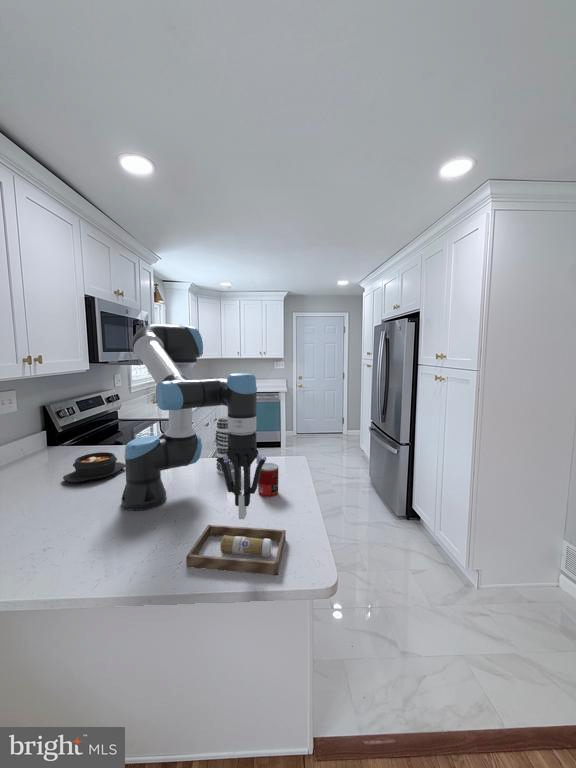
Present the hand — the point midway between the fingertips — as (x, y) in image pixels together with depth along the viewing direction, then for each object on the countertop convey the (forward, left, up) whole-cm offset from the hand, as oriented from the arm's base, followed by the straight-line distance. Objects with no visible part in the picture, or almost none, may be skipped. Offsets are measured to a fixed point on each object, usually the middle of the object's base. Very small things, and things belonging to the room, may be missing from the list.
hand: (242, 516), depth 90 cm
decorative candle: (-24, +61, -11) cm, 66 cm away
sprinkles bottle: (-6, 0, -8) cm, 10 cm away
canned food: (0, +39, -11) cm, 40 cm away
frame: (-1, 0, -10) cm, 10 cm away
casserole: (-79, +47, -11) cm, 93 cm away
